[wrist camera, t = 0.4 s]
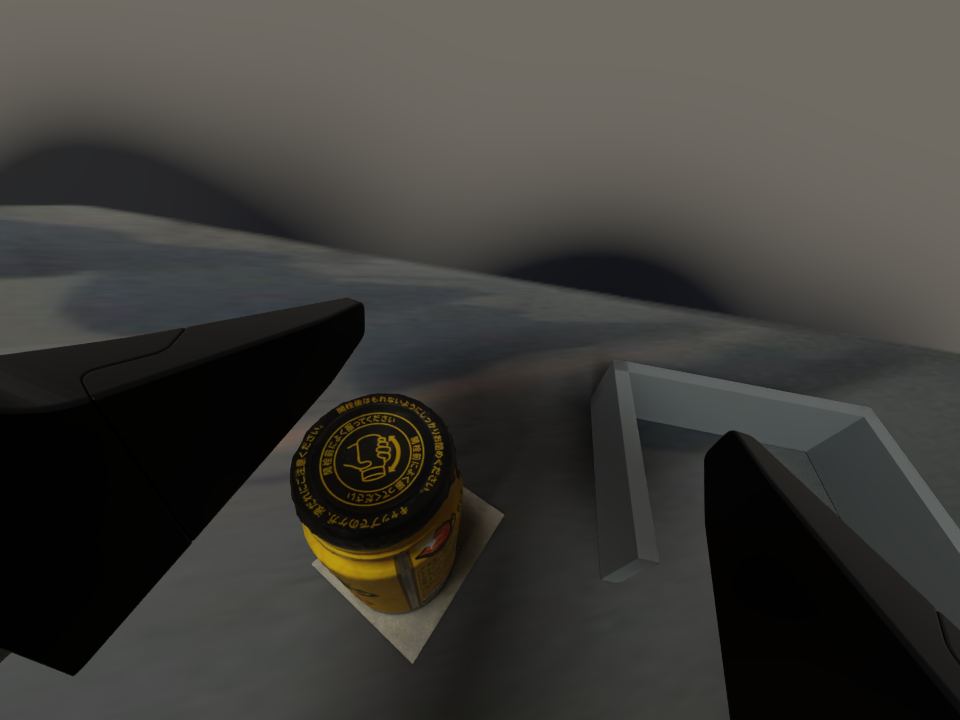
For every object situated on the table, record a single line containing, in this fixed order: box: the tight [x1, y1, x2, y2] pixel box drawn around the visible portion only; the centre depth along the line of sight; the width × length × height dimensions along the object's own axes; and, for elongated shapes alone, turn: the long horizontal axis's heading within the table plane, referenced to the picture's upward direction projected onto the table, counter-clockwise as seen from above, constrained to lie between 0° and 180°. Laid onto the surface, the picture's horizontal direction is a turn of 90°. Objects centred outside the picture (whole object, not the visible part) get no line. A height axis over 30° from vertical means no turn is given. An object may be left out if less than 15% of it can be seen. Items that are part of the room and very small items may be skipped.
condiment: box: [290, 393, 504, 664], centre depth 16 cm, size 7×8×12 cm
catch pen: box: [590, 359, 960, 630], centre depth 22 cm, size 13×18×5 cm
